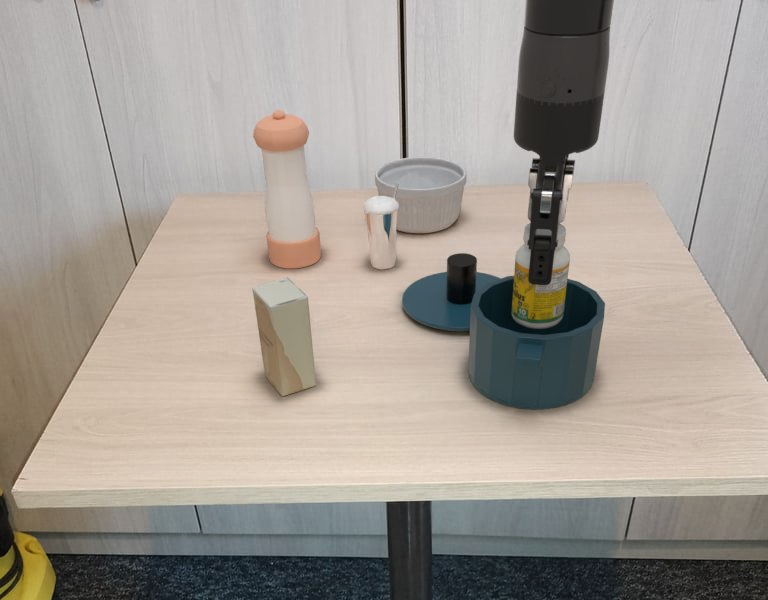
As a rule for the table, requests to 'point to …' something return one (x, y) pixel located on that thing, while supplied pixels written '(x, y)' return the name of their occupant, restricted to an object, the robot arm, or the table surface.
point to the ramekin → (423, 192)
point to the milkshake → (382, 229)
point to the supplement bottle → (540, 286)
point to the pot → (534, 348)
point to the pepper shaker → (287, 191)
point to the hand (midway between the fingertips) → (542, 268)
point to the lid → (446, 294)
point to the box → (285, 335)
